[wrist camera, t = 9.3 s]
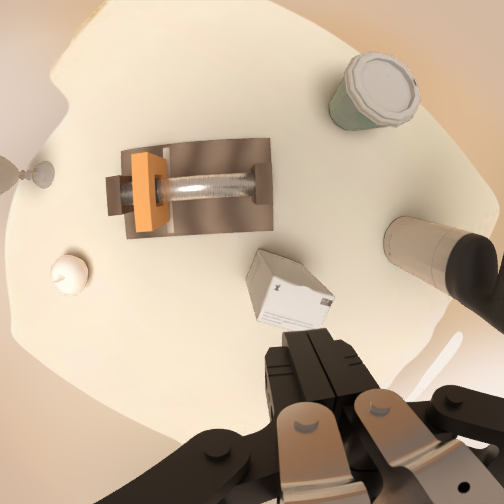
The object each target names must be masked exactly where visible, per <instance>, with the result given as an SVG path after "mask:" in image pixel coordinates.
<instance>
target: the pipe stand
mask: <svg viewBox="0 0 504 504" xmlns="http://www.w3.org/2000/svg"><path fill="white" fill-rule="evenodd" d="M143 152H149V153H152V154H154V155H157V156H159V157H162V158H165V159H166V167H167V178H174V177H185V176H197V175H211V174H228V173H249V172H255V180H256V196H247V197H227V198H210V199H195V200H182V201H170V202H168V205H169V219H170V221H169V222H168V223H166V224H164V225H162V226H160V227H159V228H157V229H155V230H153V231H147V232H136V225H135V214H134V205H128V206H124V205H123V204H122V201H121V197H120V189H121V185H122V184H123V183H129V182H132V162H131V154H137V153H143ZM121 169H122V176H120V175H119V176H112V177H106V192H107V206H108V216H113V215H122V214H124V217H125V227H126V236H127V239H137V238H151V237H166V236H182V235H198V234H215V233H234V232H253V231H273V185H272V163H271V150H270V138H249V139H226V140H210V141H197V142H186V143H176V144H167V145H159V146H152V147H144V148H138V149H131V150H125V151H121Z"/></svg>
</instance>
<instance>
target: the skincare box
mask: <svg viewBox="0 0 504 504" xmlns="http://www.w3.org/2000/svg"><path fill="white" fill-rule="evenodd" d="M246 283H247V287H248V290H249V294H250V297H251V301H252V305H253V308H254V312H255V315H256V319H257V321H259V322H262V323H266V324H269V325H273V326H276V327H280V328H283V329H287V330H291V331H302V330H304V331H305V330H311V329H320V328H321V326H322V323H323V321H324V319H325V317H326V315H327V313H328V311H329V308H330V306H331V304H332V302H333V300H334V298H335V296H334V295H333V294H332V293H331V292H330V291H329V290H328V289H327V288H326V287H325V286H324V285H323V284H322V283H321V282H320V281H319V280H318V279H316V278H315V277H314V276H313V275H312V274H311V273H310V272H309V271H308V270H307V269H306V268H305V267H304V266H303V265H302V264H300V263H298V262H295V261H292V260H290V259H287V258H284V257H281V256H278V255H275V254H272V253H269V252H266V251H263V250H261V249H258V251H257V253H256V256H255V258H254V261H253V263H252V266H251V269H250V271H249V274H248V276H247V279H246Z"/></svg>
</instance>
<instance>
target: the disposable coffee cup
mask: <svg viewBox="0 0 504 504" xmlns="http://www.w3.org/2000/svg"><path fill="white" fill-rule="evenodd" d="M344 75H345V76H344V78H343V79H342V81H341V83H340V85H339V87H338V89H337V90H336V92H335V94H334V96H333V98H332V100H331V102H330V103H329V109H330V116H331V117H332V119H333V120H334V122H335V123H336V124H337V125H339V126H340V127H342V128H343V129H345V130H362V129H370V128H379V127H388V126H390V127H398V126H400V125H402V124H404V123H405V122H407V121H409V120H410V119H412V118H413V116H414V114H415V112H416V110H417V107H418V105H419V103H420V100H421V99H420V92H419V87H418V84H417V81H416V79H415V77H414V76H413V74H412V73H411V71H410V69H409V68H408V67H407V66H406V65H405V64H403V63H402V62H400V61H399V60H398V59H396V58H395V57H393V56H392V55H387V54H382V53H378V52H371V51H370V52H367V53H364V54H361V55H358V56H355V57H354V58H352V59H351V61H350V63H349V64H348V66H347V68H346V70H345V72H344Z"/></svg>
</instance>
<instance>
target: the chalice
mask: <svg viewBox="0 0 504 504" xmlns="http://www.w3.org/2000/svg"><path fill="white" fill-rule="evenodd" d="M18 178H20V179H21V180H23V179H24V178H27V180H30V179H31V178H33V181H34V183H35V184H36V185H38V186H39V187H41V188H47V187H49V186H50V185H51V183H52V181H53V178H54V168H53V166H52V164H51V163H50V162H48V161H44V162H42V163H41V164H39V165H38V166H36V167H35V169H34V171H33V172H32V171H31V170H28V171H27V172H25V171H24V170H22V171H21V172H18V169H17V168H16V167H15V165H13V164H12V163H11V162H10V161H9V160H7V159H6V158H4V157H2V156H0V195H1V194H3V193H4V192H6V191H7V190H9V189H10V188H11V187H12V186H13V185H14V184H15V183H16V182H17V180H18Z"/></svg>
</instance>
